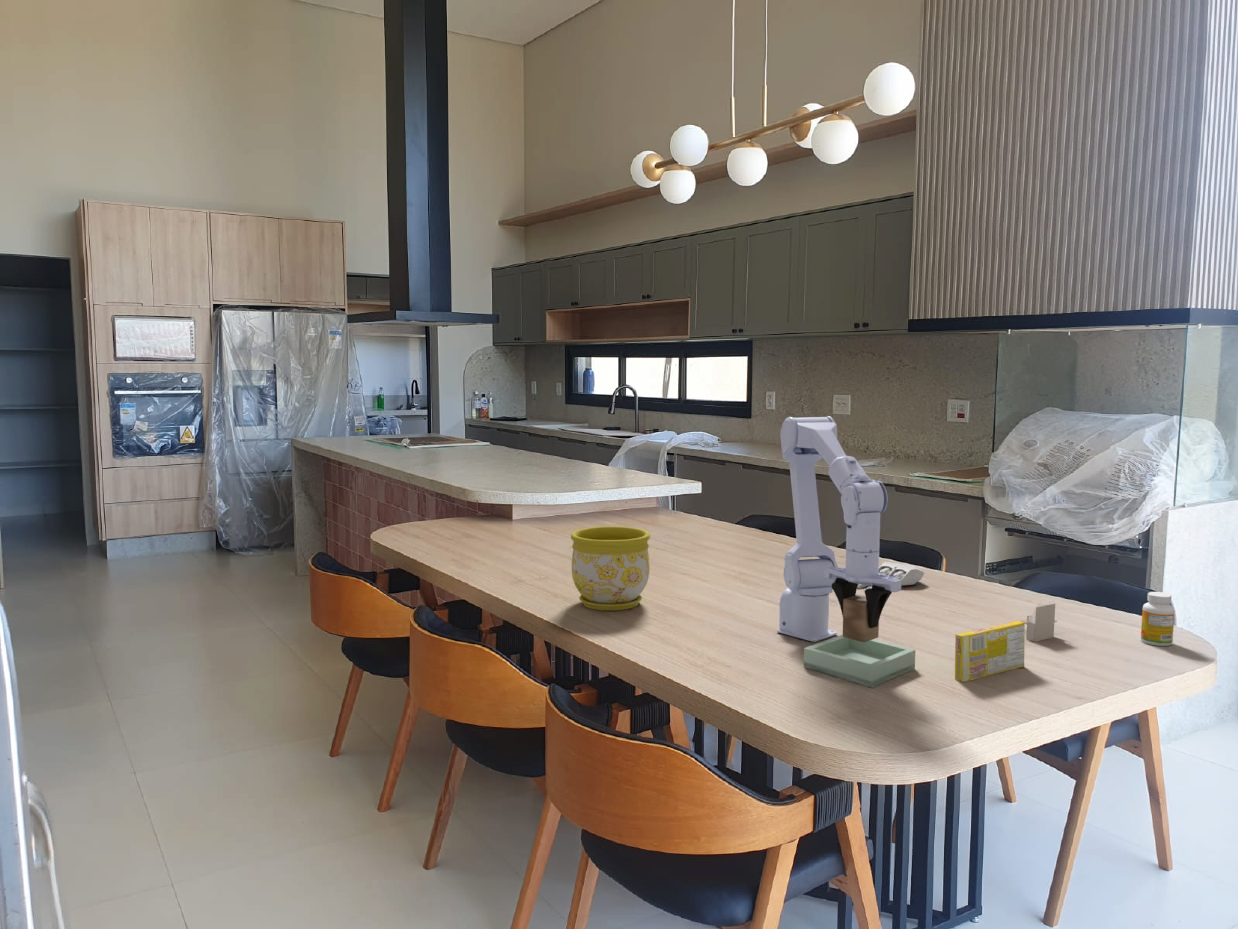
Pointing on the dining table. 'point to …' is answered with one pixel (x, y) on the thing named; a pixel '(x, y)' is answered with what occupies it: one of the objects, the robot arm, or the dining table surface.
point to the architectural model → (1041, 622)
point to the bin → (859, 660)
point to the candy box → (989, 651)
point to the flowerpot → (610, 566)
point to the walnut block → (857, 620)
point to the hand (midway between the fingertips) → (860, 624)
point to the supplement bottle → (1158, 620)
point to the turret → (899, 573)
